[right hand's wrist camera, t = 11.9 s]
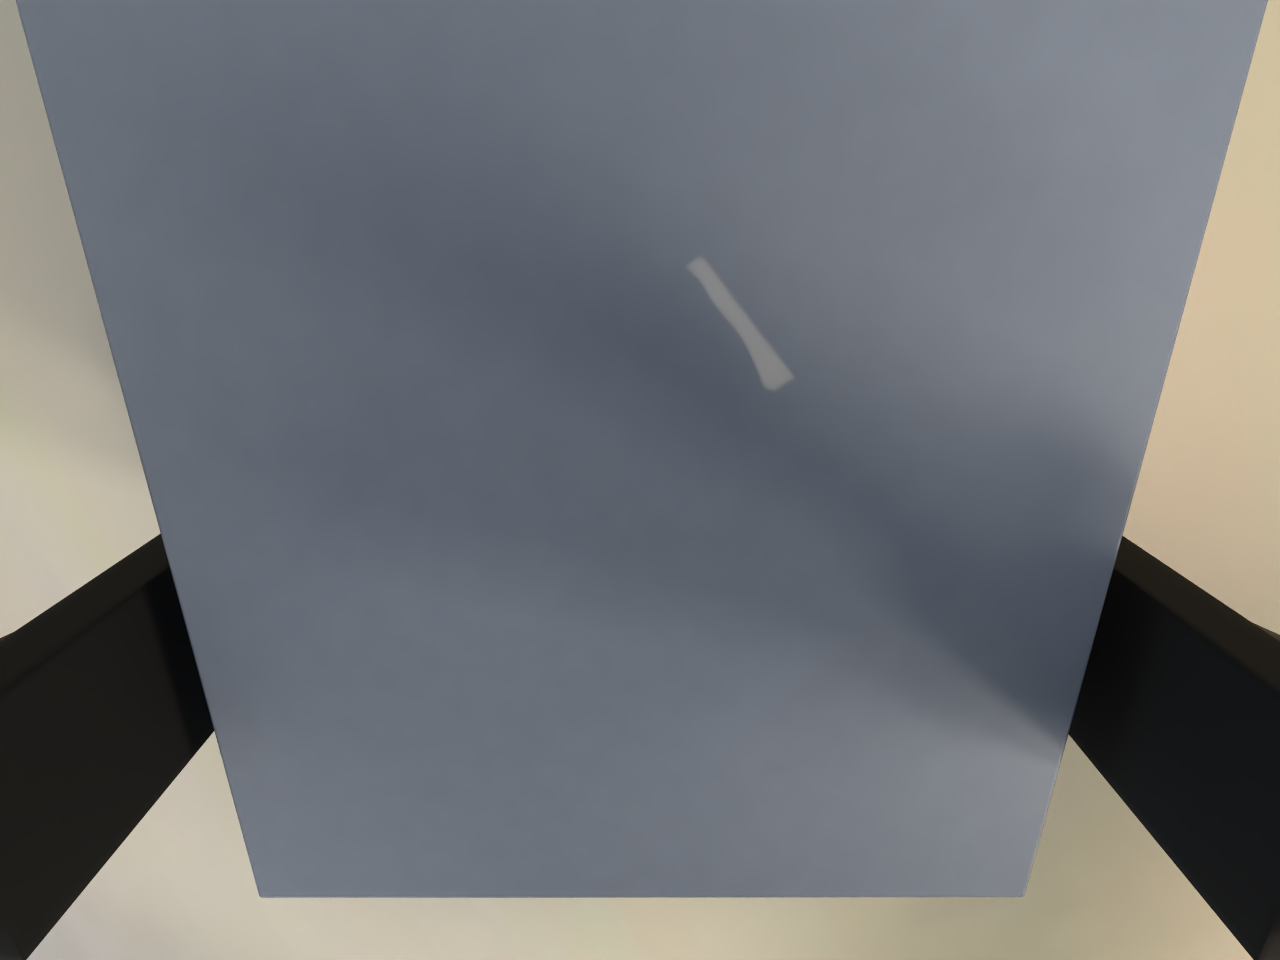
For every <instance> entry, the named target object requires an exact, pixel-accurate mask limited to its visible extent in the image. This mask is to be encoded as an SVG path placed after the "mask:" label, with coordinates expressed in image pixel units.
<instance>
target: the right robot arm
mask: <svg viewBox="0 0 1280 960" xmlns="http://www.w3.org/2000/svg"><path fill="white" fill-rule="evenodd" d="M213 732H214V727H213V723H212V720H211V716H210V712H209V708H208V705H207V701H206V697H205V694H204V690H203V686H202V683H201V679H200V675H199V672H198V668H197V664H196V661H195V657H194V653H193V650H192V646H191V642H190V639H189V635H188V631H187V628H186V624H185V620H184V617H183V613H182V609H181V606H180V602H179V598H178V595H177V591H176V587H175V583H174V580H173V576H172V572H171V569H170V565H169V561H168V558H167V554H166V550H165V547H164V543H163V539H162V536H161V534H159V535H158V536H156V537H155V538H153V539H152V540H150V541H149V542H148V543H146V544H145V545H143V546H142V547H140V548H139V549H137V550H136V551H134V552H133V553H131V554H130V555H128V556H127V557H125V558H124V559H122V560H121V561H119V562H118V563H116V564H115V565H113V566H112V567H110V568H109V569H107V570H106V571H104V572H103V573H101V574H100V575H98V576H97V577H95V578H94V579H92V580H91V581H89V582H88V583H86V584H85V585H83V586H82V587H80V588H79V589H77V590H76V591H75V592H73V593H72V594H70V595H69V596H67V597H66V598H64V599H63V600H61V601H60V602H58V603H57V604H55V605H54V606H52V607H51V608H49V609H48V610H46V611H45V612H43V613H42V614H40V615H39V616H37V617H36V618H34V619H33V620H31V621H30V622H28V623H27V624H25V625H24V626H22V627H21V628H19V629H18V630H16V631H15V632H13V633H11V634H9V635H6V636H4V637H2V638H0V960H26V959H27V958H28V957H29V956H30V955H31V953H32V952H33V951H34V950H35V948H36V947H37V946H38V945H39V944H40V942H41V941H42V940H43V939H44V937H45V936H46V935H47V934H48V933H49V931H50V930H51V929H52V928H53V927H54V925H55V924H56V923H57V922H58V920H59V919H60V918H61V917H62V916H63V914H64V913H65V912H66V911H67V909H68V908H69V907H70V906H71V905H72V903H73V902H74V901H75V900H76V898H77V897H78V896H79V895H80V894H81V892H82V891H83V890H84V889H85V888H86V886H87V885H88V884H89V883H90V881H91V880H92V879H93V878H94V877H95V875H96V874H97V873H98V872H99V870H100V869H101V868H102V867H103V866H104V864H105V863H106V862H107V861H108V859H109V858H110V857H111V856H112V855H113V853H114V852H115V851H116V850H117V849H118V847H119V846H120V845H121V844H122V842H123V841H124V840H125V839H126V838H127V836H128V835H129V834H130V833H131V831H132V830H133V829H134V828H135V827H136V825H137V824H138V823H139V822H140V820H141V819H142V818H143V817H144V816H145V814H146V813H147V812H148V811H149V810H150V808H151V807H152V806H153V805H154V803H155V802H156V801H157V800H158V799H159V797H160V796H161V795H162V794H163V792H164V791H165V790H166V789H167V788H168V786H169V785H170V784H171V783H172V782H173V780H174V779H175V778H176V777H177V775H178V774H179V773H180V772H181V771H182V769H183V768H184V767H185V766H186V764H187V763H188V762H189V761H190V760H191V758H192V757H193V756H194V755H195V753H196V752H197V751H198V750H199V749H200V747H201V746H202V745H203V744H204V743H205V741H206V740H207V739H208V738H209V736H210V735H211V734H212V733H213ZM1068 734H1069V735H1070V736H1071V738H1072V739H1073V740H1074V741H1075V743H1076V744H1077V745H1078V746H1079V747H1080V749H1081V750H1082V751H1083V752H1084V753H1085V755H1086V756H1087V757H1088V758H1089V760H1090V761H1091V762H1092V763H1093V764H1094V766H1095V767H1096V768H1097V769H1098V771H1099V772H1100V773H1101V774H1102V775H1103V777H1104V778H1105V779H1106V780H1107V782H1108V783H1109V784H1110V785H1111V786H1112V788H1113V789H1114V790H1115V791H1116V792H1117V794H1118V795H1119V796H1120V797H1121V799H1122V800H1123V801H1124V802H1125V803H1126V805H1127V806H1128V807H1129V808H1130V810H1131V811H1132V812H1133V813H1134V814H1135V816H1136V817H1137V818H1138V819H1139V821H1140V822H1141V823H1142V824H1143V825H1144V827H1145V828H1146V829H1147V830H1148V831H1149V833H1150V834H1151V835H1152V836H1153V838H1154V839H1155V840H1156V841H1157V842H1158V844H1159V845H1160V846H1161V847H1162V849H1163V850H1164V851H1165V852H1166V853H1167V855H1168V856H1169V857H1170V858H1171V860H1172V861H1173V862H1174V863H1175V864H1176V866H1177V867H1178V868H1179V869H1180V870H1181V872H1182V873H1183V874H1184V875H1185V877H1186V878H1187V879H1188V880H1189V881H1190V883H1191V884H1192V885H1193V886H1194V888H1195V889H1196V890H1197V891H1198V892H1199V894H1200V895H1201V896H1202V897H1203V898H1204V900H1205V901H1206V902H1207V903H1208V905H1209V906H1210V907H1211V908H1212V909H1213V911H1214V912H1215V913H1216V914H1217V916H1218V917H1219V918H1220V919H1221V920H1222V922H1223V923H1224V924H1225V925H1226V927H1227V928H1228V929H1229V930H1230V931H1231V933H1232V934H1233V935H1234V936H1235V937H1236V939H1237V940H1238V941H1239V942H1240V944H1241V945H1242V946H1243V947H1244V948H1245V950H1246V951H1247V952H1248V953H1249V955H1250V956H1251V957H1252V958H1253V959H1254V960H1280V635H1278V634H1276V633H1274V632H1272V631H1270V630H1267V629H1265V628H1263V627H1261V626H1258V625H1256V624H1254V623H1252V622H1250V621H1249V620H1247V619H1246V618H1244V617H1243V616H1241V615H1240V614H1238V613H1237V612H1235V611H1234V610H1232V609H1231V608H1229V607H1228V606H1226V605H1225V604H1223V603H1222V602H1220V601H1219V600H1217V599H1216V598H1214V597H1213V596H1211V595H1210V594H1208V593H1207V592H1205V591H1204V590H1202V589H1201V588H1200V587H1198V586H1197V585H1195V584H1194V583H1192V582H1191V581H1189V580H1188V579H1186V578H1185V577H1183V576H1182V575H1180V574H1179V573H1177V572H1176V571H1174V570H1173V569H1171V568H1170V567H1168V566H1167V565H1165V564H1164V563H1162V562H1161V561H1159V560H1158V559H1156V558H1155V557H1153V556H1152V555H1150V554H1149V553H1147V552H1146V551H1144V550H1143V549H1141V548H1140V547H1138V546H1137V545H1135V544H1134V543H1132V542H1131V541H1129V540H1128V539H1127V538H1125V537H1124V536H1122V538H1121V542H1120V546H1119V549H1118V553H1117V557H1116V560H1115V564H1114V568H1113V571H1112V575H1111V579H1110V582H1109V586H1108V590H1107V593H1106V597H1105V601H1104V604H1103V608H1102V612H1101V615H1100V619H1099V623H1098V627H1097V630H1096V634H1095V638H1094V641H1093V645H1092V649H1091V652H1090V656H1089V660H1088V663H1087V667H1086V671H1085V674H1084V678H1083V682H1082V685H1081V689H1080V693H1079V696H1078V700H1077V704H1076V707H1075V711H1074V715H1073V718H1072V722H1071V726H1070V730H1069V733H1068Z"/></svg>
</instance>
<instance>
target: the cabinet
mask: <svg viewBox="0 0 1280 960" xmlns="http://www.w3.org/2000/svg"><path fill="white" fill-rule="evenodd" d="M1267 1H1268V0H16V3H17V6H18V10H19V14H20V17H21V21H22V25H23V28H24V32H25V36H26V39H27V43H28V47H29V50H30V54H31V58H32V61H33V65H34V69H35V73H36V76H37V80H38V84H39V87H40V91H41V95H42V98H43V102H44V106H45V109H46V113H47V117H48V120H49V124H50V128H51V131H52V135H53V139H54V142H55V146H56V150H57V153H58V157H59V161H60V164H61V168H62V172H63V175H64V179H65V183H66V186H67V190H68V194H69V198H70V201H71V205H72V209H73V212H74V216H75V220H76V223H77V227H78V231H79V234H80V238H81V242H82V245H83V249H84V253H85V256H86V260H87V264H88V267H89V271H90V275H91V278H92V282H93V286H94V289H95V293H96V297H97V300H98V304H99V308H100V311H101V315H102V319H103V322H104V326H105V330H106V334H107V337H108V341H109V345H110V348H111V352H112V356H113V359H114V363H115V367H116V370H117V374H118V378H119V381H120V385H121V389H122V392H123V396H124V400H125V403H126V407H127V411H128V414H129V418H130V422H131V425H132V429H133V433H134V436H135V440H136V444H137V447H138V451H139V455H140V459H141V462H142V466H143V470H144V473H145V477H146V481H147V484H148V488H149V492H150V495H151V499H152V503H153V506H154V510H155V514H156V517H157V521H158V525H159V528H160V532H161V536H162V539H163V543H164V547H165V550H166V554H167V558H168V561H169V565H170V569H171V572H172V576H173V580H174V583H175V587H176V591H177V595H178V598H179V602H180V606H181V609H182V613H183V617H184V620H185V624H186V628H187V631H188V635H189V639H190V642H191V646H192V650H193V653H194V657H195V661H196V664H197V668H198V672H199V675H200V679H201V683H202V686H203V690H204V694H205V697H206V701H207V705H208V708H209V712H210V716H211V720H212V723H213V727H214V731H215V734H216V738H217V742H218V745H219V749H220V753H221V756H222V760H223V764H224V767H225V771H226V775H227V778H228V782H229V786H230V789H231V793H232V797H233V800H234V804H235V808H236V811H237V815H238V819H239V822H240V826H241V830H242V833H243V837H244V841H245V844H246V848H247V852H248V856H249V859H250V863H251V867H252V870H253V874H254V878H255V881H256V885H257V889H258V892H259V896H260V897H262V898H569V897H1023V896H1024V895H1025V891H1026V888H1027V884H1028V880H1029V877H1030V873H1031V869H1032V866H1033V862H1034V858H1035V855H1036V851H1037V847H1038V844H1039V840H1040V836H1041V832H1042V829H1043V825H1044V821H1045V818H1046V814H1047V810H1048V807H1049V803H1050V799H1051V796H1052V792H1053V788H1054V785H1055V781H1056V777H1057V774H1058V770H1059V766H1060V763H1061V759H1062V755H1063V752H1064V748H1065V744H1066V741H1067V737H1068V733H1069V730H1070V726H1071V722H1072V718H1073V715H1074V711H1075V707H1076V704H1077V700H1078V696H1079V693H1080V689H1081V685H1082V682H1083V678H1084V674H1085V671H1086V667H1087V663H1088V660H1089V656H1090V652H1091V649H1092V645H1093V641H1094V638H1095V634H1096V630H1097V627H1098V623H1099V619H1100V615H1101V612H1102V608H1103V604H1104V601H1105V597H1106V593H1107V590H1108V586H1109V582H1110V579H1111V575H1112V571H1113V568H1114V564H1115V560H1116V557H1117V553H1118V549H1119V546H1120V542H1121V538H1122V535H1123V531H1124V527H1125V524H1126V520H1127V516H1128V513H1129V509H1130V505H1131V501H1132V498H1133V494H1134V490H1135V487H1136V483H1137V479H1138V476H1139V472H1140V468H1141V465H1142V461H1143V457H1144V454H1145V450H1146V446H1147V443H1148V439H1149V435H1150V432H1151V428H1152V424H1153V421H1154V417H1155V413H1156V410H1157V406H1158V402H1159V398H1160V395H1161V391H1162V387H1163V384H1164V380H1165V376H1166V373H1167V369H1168V365H1169V362H1170V358H1171V354H1172V351H1173V347H1174V343H1175V340H1176V336H1177V332H1178V329H1179V325H1180V321H1181V318H1182V314H1183V310H1184V307H1185V303H1186V299H1187V296H1188V292H1189V288H1190V284H1191V281H1192V277H1193V273H1194V270H1195V266H1196V262H1197V259H1198V255H1199V251H1200V248H1201V244H1202V240H1203V237H1204V233H1205V229H1206V226H1207V222H1208V218H1209V215H1210V211H1211V207H1212V204H1213V200H1214V196H1215V193H1216V189H1217V185H1218V181H1219V178H1220V174H1221V170H1222V167H1223V163H1224V159H1225V156H1226V152H1227V148H1228V145H1229V141H1230V137H1231V134H1232V130H1233V126H1234V123H1235V119H1236V115H1237V112H1238V108H1239V104H1240V101H1241V97H1242V93H1243V90H1244V86H1245V82H1246V79H1247V75H1248V71H1249V67H1250V64H1251V60H1252V56H1253V53H1254V49H1255V45H1256V42H1257V38H1258V34H1259V31H1260V27H1261V23H1262V20H1263V16H1264V12H1265V9H1266V5H1267Z"/></svg>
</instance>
